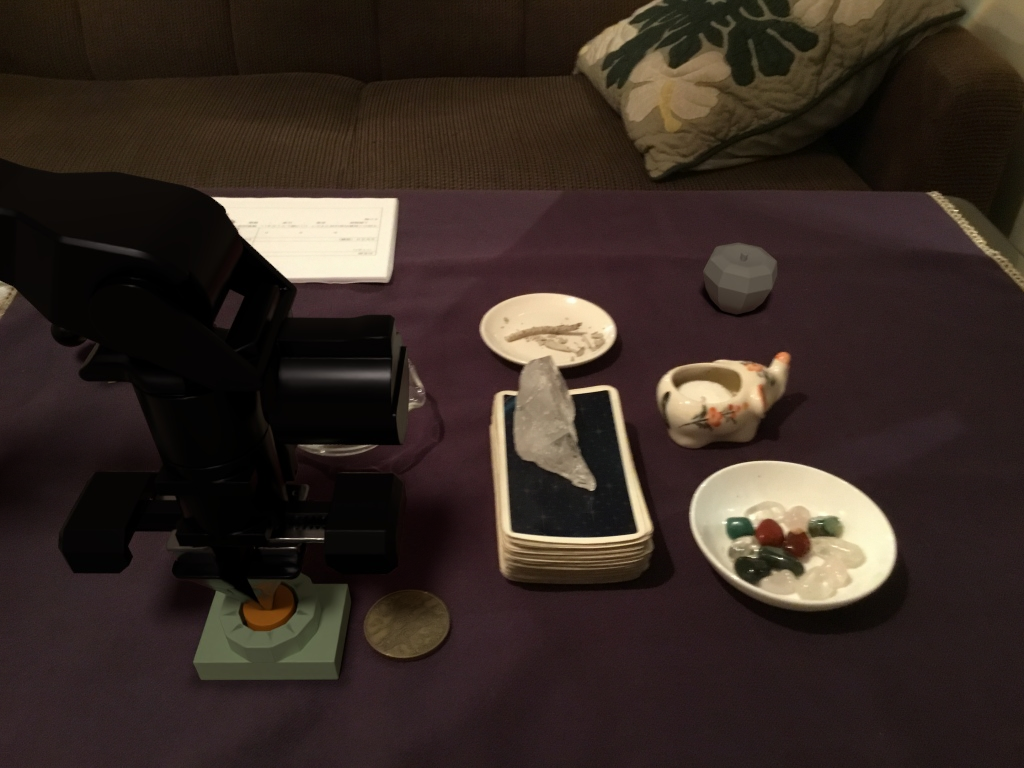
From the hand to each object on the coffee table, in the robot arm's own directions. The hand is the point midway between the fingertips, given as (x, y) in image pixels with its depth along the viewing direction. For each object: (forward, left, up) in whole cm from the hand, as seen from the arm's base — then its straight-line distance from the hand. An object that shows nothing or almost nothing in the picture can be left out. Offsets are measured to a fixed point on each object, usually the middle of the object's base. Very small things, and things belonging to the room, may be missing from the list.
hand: (267, 603), depth 51 cm
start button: (0, 0, -2) cm, 2 cm away
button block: (0, 0, -4) cm, 4 cm away
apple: (+52, +25, -4) cm, 58 cm away
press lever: (-9, +36, +1) cm, 38 cm away
